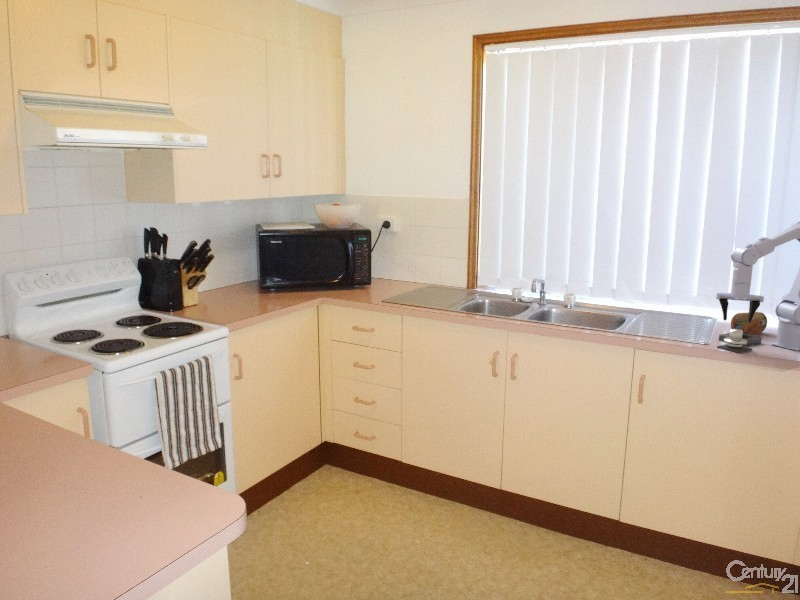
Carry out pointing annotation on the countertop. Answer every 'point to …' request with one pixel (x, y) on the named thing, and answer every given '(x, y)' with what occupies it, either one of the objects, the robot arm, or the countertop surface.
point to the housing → (750, 339)
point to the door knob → (735, 339)
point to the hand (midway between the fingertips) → (736, 320)
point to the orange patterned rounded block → (749, 323)
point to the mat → (735, 349)
